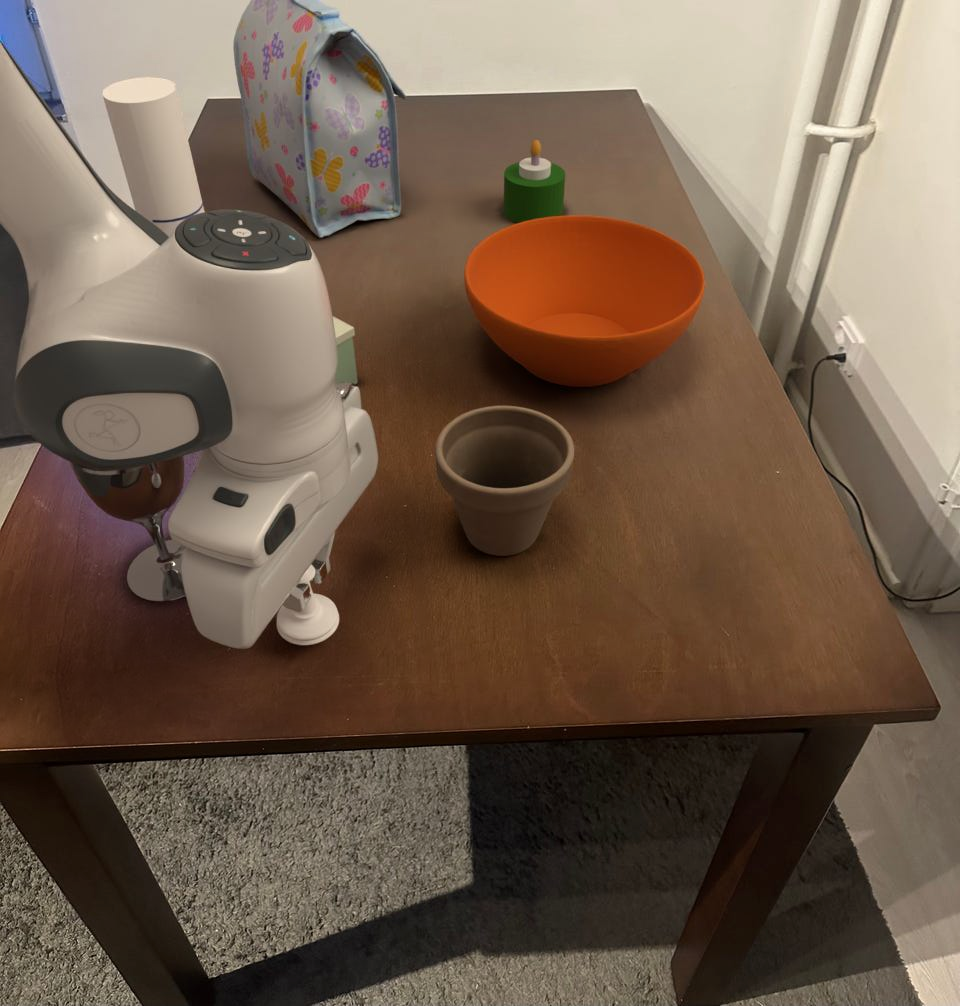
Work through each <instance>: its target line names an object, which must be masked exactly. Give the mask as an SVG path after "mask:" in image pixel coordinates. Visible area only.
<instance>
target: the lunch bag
mask: <svg viewBox="0 0 960 1006" xmlns="http://www.w3.org/2000/svg"><path fill="white" fill-rule="evenodd" d="M340 14H341V13H340V10H339V8H338V7H333V6H330V5H329V4H326V3H324V2H323V1H322V0H250V1H249V3H248V4H247V5H246V7H245V9H244V10H243V12H242V14H241V17H240V19H239V22H238V24H237V27H236V30H235V33H234V37H233V46H232V48H233V60H234V68H235V74H236V79H237V81H236V82H237V86H238V90H239V94H240V103H241V109H242V116H243V117H242V118H243V124H244V135H245V136H244V137H245V148H246V156H247V162H248V167H249V171H250V174H251V176H252V177H253V178H254V179H256V180H257V181H258V182H260V183H261V184H262V185H264V186H265V187H266V188H267V189H268V190H270V192H271V193H273V194H274V195H275V196H277V197H278V198H279V199H280V201H281V202H283V203H284V204H285V205H286V206H287V207H288V208H289V209H290V210H291V211H293V212H294V214H296V215H297V216H298V217H299V218H300V220H302V221H303V223H305V225H306V226H307V227H308V228H309V230H310V231H311V232H312V233H313V234H314V235H315V236H316V237H318V238H321V239H322V238H324V237H328V236H330V235H332V234H334V233H336V232H338V231H340V230H342V229H344V228H346V227H349V226H350V225H352V224H353V223H355V222H357V221H364V222H366V221H371V220H380V219H381V220H383V219H384V220H386V219H387V220H389V219H390V220H391V219H393V218H397V217H399V216H400V215H401V211H402V198H401V197H402V196H401V180H400V162H399V133H398V114H397V105H396V99H395V98H396V97H395V96H397V97H398V98H401V99H402V100H407V95H406V94H405V93H404V91H403V89H402V88H401V87H400V86H399V84H398V83H397V81H396V80H395V79H394V77H393V76H392V74H391V73H390V71H389V70H388V68H387V66H386V64H385V63H384V62H383V60H382V59H381V57H380V56H379V55H380V54H378V52H376V50H375V49H374V48H373V47H372V46H371V45H370V43H369V42H368V41H366V39H365V38H364V37H363V35H361V34H360V32H359V31H358V30H357V29H356V28H355V27H354V26H353V25H351V24H350V23H347V22H345V21H344V20H343V19H342V18H340Z"/></svg>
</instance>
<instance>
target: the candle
mask: <svg viewBox="0 0 960 1006" xmlns="http://www.w3.org/2000/svg"><path fill="white" fill-rule="evenodd" d="M529 151H530V157H526V158H523V159H521V160H520V161H518V162H515V163H512V164H510V165H509V166H507V167H506V168H505V169H504V172H503V215H504V217H506V219H508V220H509V221H511V222H513V223H515V224H517V223H521V222H525V221H529V220H533V219H538V218H545V217H553V216H563V213H564V201H565V186H566V171H565V170H564V169H563V167H561V166H559V165H558V164H555V163H553V162H551V161H550V160H548V159H546V158H543V157H540V155H541V151H542V144H541V143H540V140H538V139H534V140H533V141H532V143H531V145H530V150H529Z"/></svg>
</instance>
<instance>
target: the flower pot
mask: <svg viewBox="0 0 960 1006" xmlns="http://www.w3.org/2000/svg"><path fill="white" fill-rule="evenodd" d="M434 448H435V449H434V456H435V468H436V475H437V478H438V481H439V482H440V485H441V487H442V488H443V489H444V490H445V492H446V493H447V494H448V495H449V496H451V497H452V498H453V502H454V505H455V508H456V512H457V514H458V518H459V520H460V523H461V525H462V528H463V531H464V533H465V536H466V538H467V539H468V541H469V543H470V544H471V545H472V546H473V547H474V548H476V549H477V550H478V551H481V552H483V553H484V554H488V555H490V556H495V557H508V556H513V555H518V554H521V553H523V552H525V551H526V550H528V549H529V548H530V547H531V546H533V544H534V543H535V541H536V540H537V538H538V536H539V535H540V533H541V530H542V528H543V525H544V524H545V522H546V519H547V516H548V515H549V514H548V513H549V511H550V509H551V507H552V505H553V501H554V499H555V498H556V497H558V496H559V495H560V494H562V493H563V491H564V490H565V489H566V488H567V485H568V484H569V482H570V480H571V476H572V472H573V464H574V460H575V453H576V451H575V444H574V440H573V438H572V436H571V435H570V433H569V431H568V430H567V429H566V428H565V427H564V426H563V425H562V424H561V423H559V422H558V421H557V420H556V419H553V418H552V417H551V416H549V415H546V414H544V413H542V412H540V411H537V410H534V409H531V408H526V407H522V406H514V405H492V406H486V407H485V406H483V407H479V408H476V409H472V410H469V411H467V412H465V413H462V414H460V415H459V416H457V417H455V418H453V419H452V420H451V421H450V422H448V423H447V424H446V425H445V426H444V427H443V429H442V430H441V431H440V433H439V435H438V437H437V439H436V442H435V447H434Z"/></svg>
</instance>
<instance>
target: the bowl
mask: <svg viewBox="0 0 960 1006" xmlns="http://www.w3.org/2000/svg"><path fill="white" fill-rule="evenodd" d="M463 276H464V277H463V279H464V280H463V282H464V287H465V292H466V296H467V299H468V302H469V304H470V307H471V309H472V311H473V313H474V316H475V317H476V319H477V321H478V323H479V324H480V325H481V327H482V329H483V331H485V333H486V334H487V336H488V337H489V338H490V339H491V340H492V341H493V343H495V344H496V345H497V346H498V347H499V349H500V350H501V351H503V352H504V353H505V355H508V357H510V358H511V359H512V360H514V361H515V362H516V363H518V364H519V365H521V366H522V367H524V369H526V371H528V372H529V373H530V374H531V375H534V376H535V377H537V378H539V379H541V380H544V381H547V382H550V383H553V384H556V385H559V386H560V385H561V386H567V387H579V388H585V387H586V388H589V387H597V386H602V385H606V384H610V383H613V382H615V381H618V380H620V379H622V378H624V377H625V376H628V374H630V373H632V372H634V371H636V370H638V369H640V368H643V367H644V366H645V365H647V364H649V363H650V362H652V361H654V360H656V358H658V357H659V356H661V355H662V354H663V353H664V352H665V351H667V350H668V349H669V348H670V347H671V346H672V345H674V343H675V342H676V341H678V340H679V339H680V338H681V336H682V335H683V334H684V332H685V331H686V330H687V329H688V327H689V326H690V324H691V323H692V321H693V320H694V318H695V316H696V314H697V312H698V310H699V308H700V306H701V305H702V301H703V298H704V294H705V289H706V279H705V273H704V271H703V268H702V266H701V264H700V262H699V260H698V259H697V258H696V257H695V255H693V253H691V251H689V249H688V248H687V247H686V246H685V245H683V244H682V243H680V242H679V241H677V240H675V239H674V238H672V237H670V236H669V235H666V234H665V233H663V232H661V231H658V230H656V229H653V228H651V227H648V226H646V225H643V224H640V223H639V224H638V223H635V222H632V221H628V220H624V219H617V218H613V217H607V216H597V215H596V216H595V215H583V214H582V215H579V214H578V215H572V214H571V215H562V216H553V217H545V218H538V219H533V220H529V221H525V222H521V223H515V224H511V225H509V226H507V227H504V228H501V229H499V230H498V231H495V232H493V233H491V234H490V235H488V236H487V237H485V238H484V239H483V240H482V241H480V242H479V243H478V244H477V245H476V246H475V248H473V250H472V251H471V252H470V253H469V256H468V258H467V260H466V263H465V267H464V271H463Z"/></svg>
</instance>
